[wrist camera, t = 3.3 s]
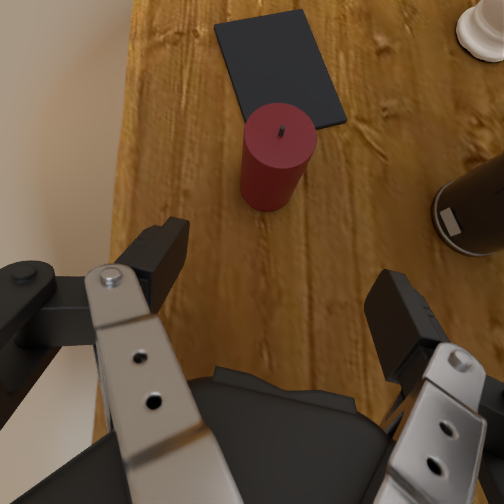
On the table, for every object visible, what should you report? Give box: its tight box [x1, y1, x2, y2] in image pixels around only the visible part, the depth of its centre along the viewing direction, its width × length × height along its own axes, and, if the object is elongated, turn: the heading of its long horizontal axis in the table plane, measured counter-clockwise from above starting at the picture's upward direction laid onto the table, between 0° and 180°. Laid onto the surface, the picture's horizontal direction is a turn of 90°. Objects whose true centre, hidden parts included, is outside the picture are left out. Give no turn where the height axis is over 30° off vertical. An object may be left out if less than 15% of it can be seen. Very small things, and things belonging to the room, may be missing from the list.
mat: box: [214, 9, 347, 129], centre depth 37 cm, size 12×17×1 cm
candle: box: [240, 103, 317, 211], centre depth 28 cm, size 6×6×11 cm
